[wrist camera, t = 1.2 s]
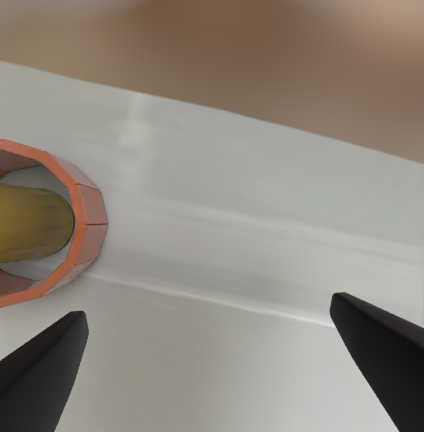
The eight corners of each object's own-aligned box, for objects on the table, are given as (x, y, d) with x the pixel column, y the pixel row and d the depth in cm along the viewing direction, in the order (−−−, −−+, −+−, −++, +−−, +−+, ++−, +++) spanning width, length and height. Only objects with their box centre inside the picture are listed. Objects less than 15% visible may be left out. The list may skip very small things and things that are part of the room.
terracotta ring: (84, 302, 21) (57, 323, 17) (-52, 268, 20) (-120, 282, 16) (122, 179, 22) (105, 169, 17) (-9, 140, 21) (-63, 118, 16)
